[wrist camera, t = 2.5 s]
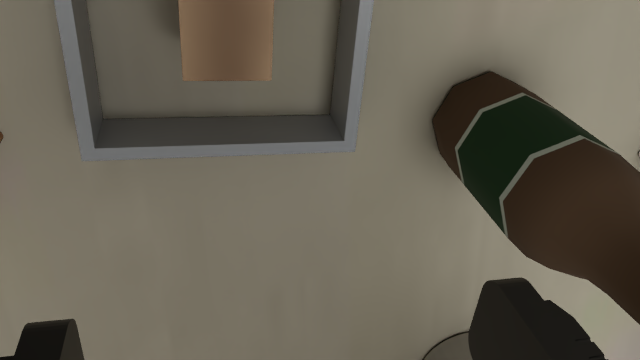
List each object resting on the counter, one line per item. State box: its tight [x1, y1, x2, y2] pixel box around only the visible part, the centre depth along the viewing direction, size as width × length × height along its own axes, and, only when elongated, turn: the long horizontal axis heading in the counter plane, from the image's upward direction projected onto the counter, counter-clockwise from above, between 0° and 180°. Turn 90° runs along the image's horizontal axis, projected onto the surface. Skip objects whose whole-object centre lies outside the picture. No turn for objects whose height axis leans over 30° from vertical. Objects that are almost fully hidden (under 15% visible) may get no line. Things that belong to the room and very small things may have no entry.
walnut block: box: [178, 0, 274, 81], centre depth 29 cm, size 4×4×7 cm
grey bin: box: [54, 0, 374, 161], centre depth 31 cm, size 17×17×4 cm
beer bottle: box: [433, 72, 640, 324], centre depth 31 cm, size 8×8×24 cm
